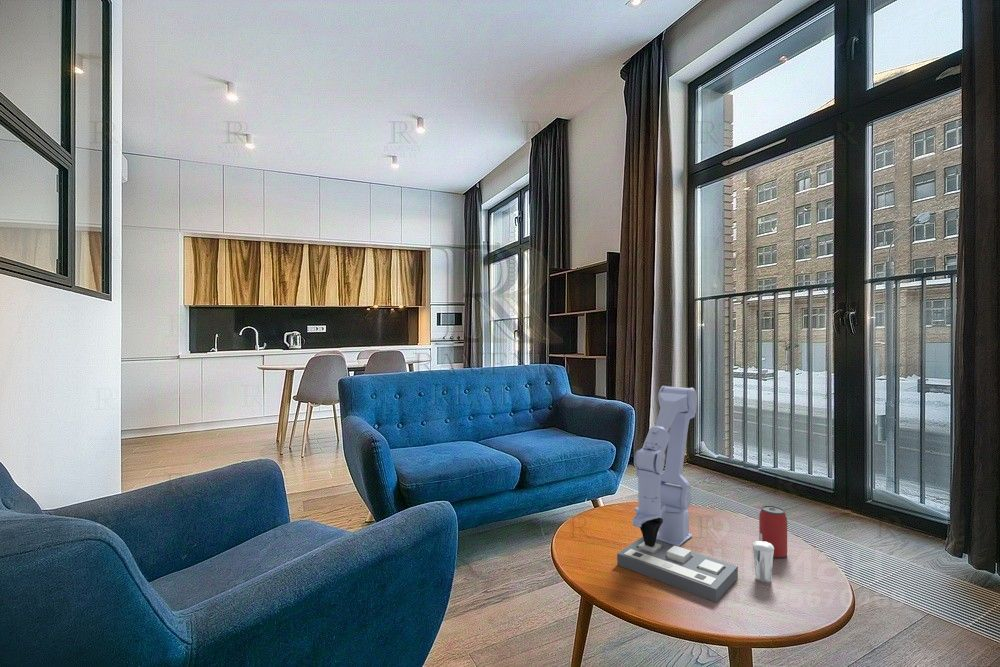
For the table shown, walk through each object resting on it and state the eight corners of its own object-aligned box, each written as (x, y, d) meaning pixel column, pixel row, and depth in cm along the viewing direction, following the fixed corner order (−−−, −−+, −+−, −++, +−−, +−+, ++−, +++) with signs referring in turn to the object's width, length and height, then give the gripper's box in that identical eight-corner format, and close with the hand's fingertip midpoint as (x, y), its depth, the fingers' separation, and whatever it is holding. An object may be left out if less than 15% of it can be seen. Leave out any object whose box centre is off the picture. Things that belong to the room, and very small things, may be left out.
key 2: (705, 571, 121) (705, 559, 121) (723, 577, 118) (723, 565, 118) (698, 577, 118) (698, 565, 118) (717, 584, 115) (717, 572, 115)
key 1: (646, 550, 132) (646, 539, 132) (661, 556, 129) (661, 544, 129) (638, 556, 129) (638, 545, 129) (653, 562, 126) (653, 550, 126)
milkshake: (771, 574, 120) (771, 534, 120) (775, 585, 115) (775, 544, 114) (750, 571, 121) (750, 532, 121) (754, 582, 116) (754, 541, 116)
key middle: (674, 556, 126) (674, 545, 126) (691, 562, 123) (691, 550, 123) (667, 562, 123) (666, 551, 123) (683, 568, 120) (683, 556, 120)
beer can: (782, 548, 133) (782, 505, 133) (791, 560, 127) (791, 514, 127) (756, 546, 135) (756, 503, 134) (763, 557, 128) (763, 512, 128)
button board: (643, 546, 136) (643, 534, 136) (737, 578, 118) (737, 564, 118) (617, 564, 126) (617, 552, 126) (716, 602, 108) (716, 587, 108)
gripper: (648, 484, 137) (648, 532, 137) (621, 498, 126) (622, 550, 126) (672, 490, 132) (672, 539, 132) (646, 505, 121) (647, 558, 122)
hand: (649, 545), depth 129 cm, fingers closed, pressing on key 1
